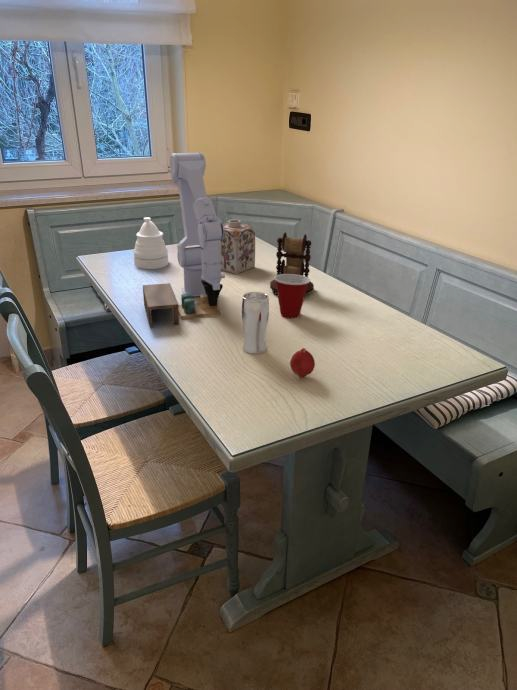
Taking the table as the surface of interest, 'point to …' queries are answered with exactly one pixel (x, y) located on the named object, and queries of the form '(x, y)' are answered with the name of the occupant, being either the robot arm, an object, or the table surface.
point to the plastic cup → (291, 293)
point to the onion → (302, 363)
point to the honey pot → (150, 247)
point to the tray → (196, 307)
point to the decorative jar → (237, 247)
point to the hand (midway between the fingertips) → (212, 304)
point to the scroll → (293, 259)
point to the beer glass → (255, 321)
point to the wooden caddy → (160, 300)
